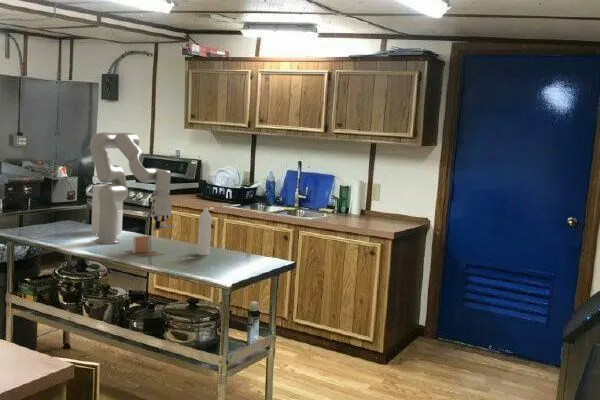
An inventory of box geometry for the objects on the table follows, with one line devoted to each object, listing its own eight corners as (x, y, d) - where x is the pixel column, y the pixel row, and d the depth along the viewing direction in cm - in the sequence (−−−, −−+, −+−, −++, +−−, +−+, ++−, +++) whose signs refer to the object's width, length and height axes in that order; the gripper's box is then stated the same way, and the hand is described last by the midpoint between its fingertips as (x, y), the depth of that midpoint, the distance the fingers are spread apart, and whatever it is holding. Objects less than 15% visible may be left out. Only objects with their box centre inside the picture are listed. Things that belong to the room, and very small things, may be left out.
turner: (150, 230, 333) (149, 224, 334) (159, 230, 337) (158, 223, 338) (165, 227, 325) (164, 220, 325) (173, 226, 329) (172, 219, 329)
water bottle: (203, 256, 327) (205, 209, 325) (194, 254, 331) (197, 207, 329) (215, 254, 334) (217, 208, 331) (206, 252, 338) (209, 206, 335)
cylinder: (91, 230, 379) (93, 183, 376) (121, 230, 385) (123, 185, 382) (91, 235, 363) (92, 187, 360) (122, 235, 368) (124, 188, 365)
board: (123, 254, 320) (123, 251, 320) (146, 251, 330) (146, 248, 330) (141, 260, 309) (141, 257, 309) (164, 257, 320) (164, 254, 320)
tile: (132, 252, 319) (133, 236, 318) (146, 250, 325) (146, 235, 324) (134, 252, 318) (135, 237, 317) (148, 251, 324) (149, 236, 323)
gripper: (153, 194, 322) (151, 230, 324) (178, 194, 334) (176, 228, 336) (144, 192, 327) (142, 227, 329) (170, 192, 339) (168, 225, 341)
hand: (159, 227), depth 332 cm, fingers closed on turner, 2 cm apart
